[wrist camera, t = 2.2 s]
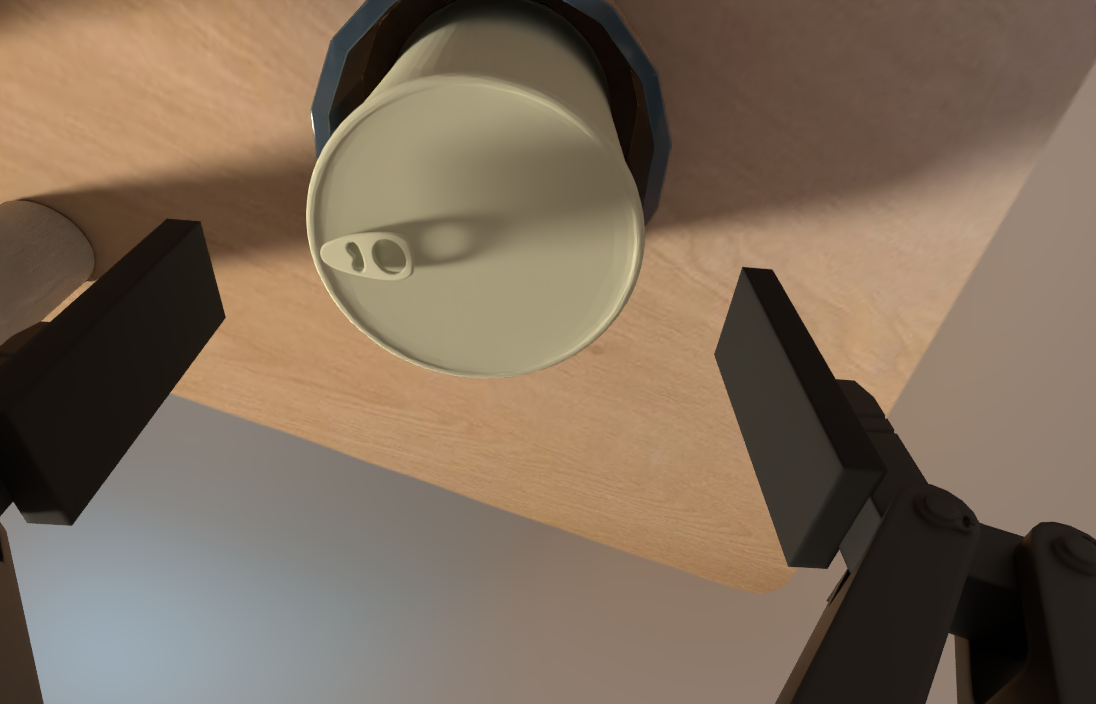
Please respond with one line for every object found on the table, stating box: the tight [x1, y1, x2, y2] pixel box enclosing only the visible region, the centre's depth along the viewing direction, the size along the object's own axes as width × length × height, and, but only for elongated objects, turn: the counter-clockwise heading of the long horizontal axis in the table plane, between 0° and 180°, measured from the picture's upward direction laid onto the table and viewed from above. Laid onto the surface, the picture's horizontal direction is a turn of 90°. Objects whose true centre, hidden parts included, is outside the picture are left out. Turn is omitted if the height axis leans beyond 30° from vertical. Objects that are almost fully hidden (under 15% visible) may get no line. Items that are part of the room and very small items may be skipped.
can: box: [306, 0, 645, 378], centre depth 21 cm, size 9×9×12 cm
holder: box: [311, 0, 672, 228], centre depth 24 cm, size 12×12×5 cm
